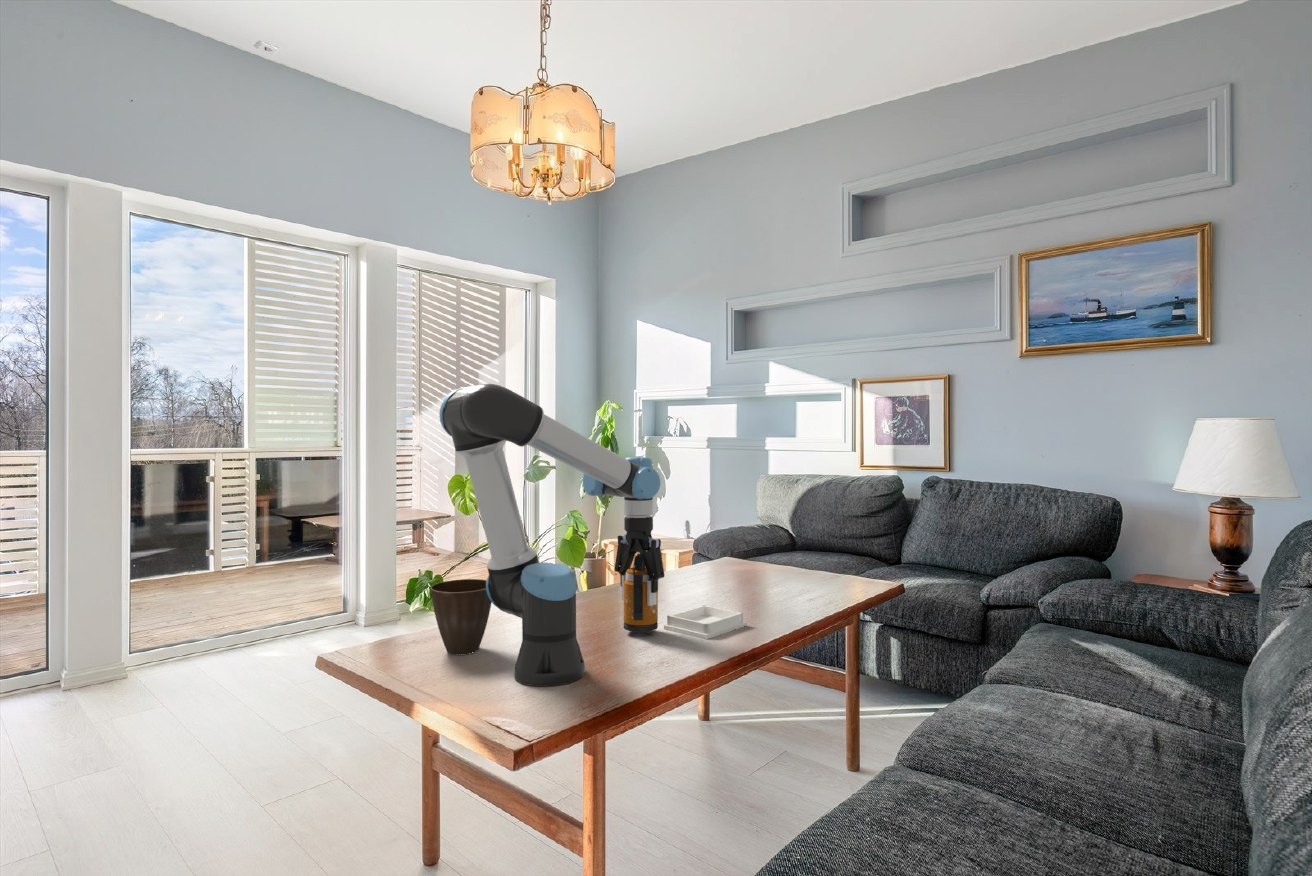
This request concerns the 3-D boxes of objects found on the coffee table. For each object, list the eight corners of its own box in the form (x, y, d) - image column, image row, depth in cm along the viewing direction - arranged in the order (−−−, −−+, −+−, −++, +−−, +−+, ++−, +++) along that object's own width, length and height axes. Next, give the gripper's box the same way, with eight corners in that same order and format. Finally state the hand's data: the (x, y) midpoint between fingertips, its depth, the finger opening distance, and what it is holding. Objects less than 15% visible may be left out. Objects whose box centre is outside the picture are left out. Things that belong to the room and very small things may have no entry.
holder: (707, 639, 180) (706, 625, 180) (663, 628, 190) (663, 615, 190) (746, 625, 192) (746, 612, 192) (704, 616, 203) (703, 604, 203)
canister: (659, 626, 190) (659, 551, 191) (655, 637, 179) (655, 558, 180) (626, 625, 191) (626, 551, 191) (620, 636, 180) (620, 557, 180)
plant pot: (507, 647, 175) (506, 583, 175) (459, 664, 162) (458, 594, 162) (466, 638, 183) (465, 576, 183) (418, 653, 171) (417, 587, 171)
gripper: (678, 517, 181) (679, 606, 181) (620, 512, 196) (620, 594, 196) (658, 520, 176) (659, 611, 176) (600, 514, 191) (600, 598, 190)
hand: (639, 602), depth 186 cm, fingers closed on canister, 9 cm apart
